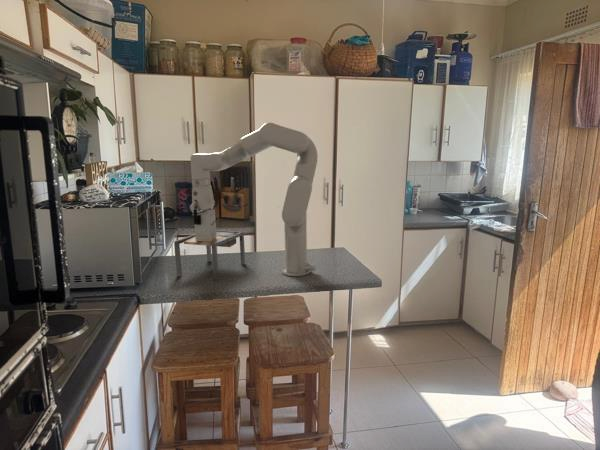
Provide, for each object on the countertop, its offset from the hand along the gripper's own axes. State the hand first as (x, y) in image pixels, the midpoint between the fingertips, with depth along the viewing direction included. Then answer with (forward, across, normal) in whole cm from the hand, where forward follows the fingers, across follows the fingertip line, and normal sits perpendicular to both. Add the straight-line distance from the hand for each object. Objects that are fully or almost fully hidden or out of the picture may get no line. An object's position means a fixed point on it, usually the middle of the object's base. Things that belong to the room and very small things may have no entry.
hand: (204, 222), depth 171 cm
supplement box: (+8, 0, 0) cm, 8 cm away
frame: (+23, +4, 0) cm, 23 cm away
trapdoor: (+12, +4, 0) cm, 13 cm away
